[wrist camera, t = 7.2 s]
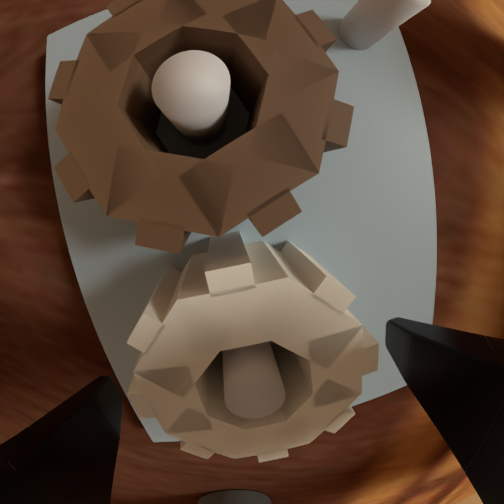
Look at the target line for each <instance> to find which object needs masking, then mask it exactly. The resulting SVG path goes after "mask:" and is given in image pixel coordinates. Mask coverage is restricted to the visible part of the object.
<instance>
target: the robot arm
mask: <svg viewBox="0 0 504 504" xmlns="http://www.w3.org/2000/svg"><path fill="white" fill-rule="evenodd" d="M385 345H386V348H387V350H388V352H389V354H390V355H391V357H392V359H393V361H394V363H395V364H396V366H397V368H398V370H399V372H400V374H401V376H402V377H403V379H404V381H405V382H406V384H407V385H408V387H409V388H410V390H411V391H412V393H413V394H414V395H415V397H416V398H417V400H418V401H419V403H420V404H421V406H422V407H423V408H424V410H425V411H426V413H427V414H428V416H429V417H430V419H431V420H432V422H433V423H434V425H435V426H436V428H437V429H438V431H439V432H440V434H441V435H442V437H443V438H444V440H445V441H446V443H447V445H448V446H449V448H450V449H451V451H452V452H453V454H454V456H455V457H456V459H457V460H458V462H459V463H460V465H461V467H462V468H463V470H464V471H465V474H466V475H467V477H468V478H469V480H470V482H471V483H472V485H473V487H474V488H475V490H476V492H477V493H478V495H479V497H480V499H481V500H482V502H483V504H504V339H499V338H494V337H489V336H486V337H485V336H484V335H479V334H474V333H469V332H464V331H459V330H455V329H450V328H445V327H441V326H436V325H431V324H427V323H422V322H418V321H414V320H409V319H405V318H400V317H396V318H393V319H390V320H388V321H387V322H386V333H385ZM122 405H123V398H122V394H121V392H120V390H119V388H118V386H117V384H116V383H115V381H114V379H113V377H112V376H99V377H98V378H97V379H95V380H94V381H92V382H91V383H90V384H88V385H87V386H85V387H84V388H83V389H81V390H80V391H78V392H77V393H76V394H74V395H73V396H71V397H70V398H68V399H67V400H66V401H64V402H63V403H61V404H60V405H59V406H57V407H56V408H54V409H53V410H51V411H50V412H49V413H47V414H46V415H44V416H43V417H42V418H40V419H39V420H37V421H36V422H34V423H33V424H32V425H30V427H27V428H26V429H24V430H23V431H21V432H20V433H18V434H17V435H15V436H14V437H12V438H11V439H9V440H7V441H6V442H4V443H3V444H1V445H0V504H110V499H111V491H112V483H113V476H114V470H115V463H116V457H117V451H118V446H119V439H120V429H121V416H122Z"/></svg>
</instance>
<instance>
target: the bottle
mask: <svg viewBox="0 0 504 504" xmlns="http://www.w3.org/2000/svg"><path fill="white" fill-rule="evenodd" d="M197 504H272V503H271V500H270V498H269V497H268V496H267V495H265V494H263V493H260V492H256V491H250V490H224V491H218V492H213V493H210V494H207V495H205V496H203V497H201V498H200V499H199V501H198V503H197Z"/></svg>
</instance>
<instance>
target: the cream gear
mask: <svg viewBox="0 0 504 504" xmlns="http://www.w3.org/2000/svg"><path fill="white" fill-rule="evenodd" d="M355 297H356V296H355V295H354V294H353V293H352V292H351V291H349V290H348V289H347V288H346V287H345V286H344V285H343V284H342V283H340V282H339V281H338V280H337V279H336V278H335V277H334V276H333V275H331V274H330V273H329V272H328V271H327V270H326V269H325V268H323V267H322V266H321V265H320V264H319V263H318V262H317V261H315V260H314V259H313V258H312V257H311V256H310V255H308V254H307V253H305V252H304V251H303V250H301V249H300V248H298V247H297V246H295V245H294V244H292V243H291V242H290V241H287V242H286V244H285V245H284V247H283V248H282V249H281V251H280V252H279V251H278V250H276V249H275V248H273V247H272V246H270V245H269V244H267V243H266V242H264V241H258V242H253V243H248V244H244V243H243V240H242V237H241V235H240V232H239V231H235V232H231V233H226V234H223V235H222V236H220V237H215V236H211V237H210V242H209V248H208V252H204V253H199V254H194V255H192V257H191V258H190V260H189V261H188V263H187V265H186V266H185V268H184V269H183V271H182V272H181V271H180V270H178V269H177V268H175V267H174V266H172V265H169V267H168V269H167V270H166V272H165V274H164V275H163V277H162V279H161V280H160V282H159V284H158V285H157V287H156V289H155V291H154V292H153V294H152V296H151V298H150V300H149V301H148V303H147V305H146V307H145V309H144V311H143V313H142V314H141V316H140V318H139V320H138V322H137V324H136V326H135V328H134V329H133V331H132V333H131V335H130V337H129V339H128V341H127V344H129V345H131V346H132V347H134V348H136V349H138V350H139V351H141V353H140V355H139V358H138V360H137V363H136V365H135V368H134V370H133V373H134V377H133V380H132V383H131V385H130V388H129V391H128V393H127V395H128V397H129V398H130V400H131V402H132V404H133V406H134V408H135V409H136V411H137V413H138V415H139V416H140V418H141V419H143V418H157V420H158V422H159V424H160V425H161V427H162V429H163V431H164V432H165V434H167V435H170V436H172V437H175V438H177V439H180V440H181V444H180V450H183V451H185V452H188V453H191V454H194V455H196V456H199V457H202V458H205V459H208V458H209V457H211V456H212V455H213V454H214V453H218V454H221V455H224V456H227V457H231V458H234V459H236V458H243V457H249V456H255V455H257V457H258V460H259V462H265V461H270V460H275V459H280V458H284V457H289V456H288V451H287V449H289V448H294V447H298V446H302V445H306V444H309V443H310V442H312V441H313V440H314V439H315V438H316V437H317V436H318V435H320V434H321V433H322V432H323V431H324V430H325V431H328V432H332V433H336V432H337V431H338V430H339V429H340V428H341V427H342V426H343V425H344V424H345V423H346V422H347V421H348V420H349V419H351V418H352V417H353V416H354V415H355V412H354V410H353V409H352V407H351V404H352V403H353V402H354V401H355V400H356V399H357V398H358V397H359V396H360V395H361V394H362V376H364V375H367V374H369V373H372V372H375V371H378V355H379V343H378V342H377V340H376V339H375V338H374V337H373V336H372V335H371V334H370V333H369V332H368V331H367V330H366V329H365V328H364V326H363V325H362V324H361V323H360V321H359V320H358V319H357V318H356V317H355V316H354V315H353V314H352V313H351V312H350V311H349V310H348V309H347V308H348V307H349V305H350V304H351V303H352V301H353V300H354V299H355ZM268 341H272V342H274V343H273V344H272V345H271V347H272V350H273V354H274V357H275V360H276V363H277V366H278V369H279V373H280V376H281V379H282V382H283V385H284V388H285V392H286V398H285V401H284V403H283V405H282V406H281V407H280V408H279V409H278V410H277V411H276V412H274V413H273V414H271V415H269V416H266V417H263V418H257V419H247V418H242V417H239V416H236V415H234V414H233V413H231V412H230V411H229V410H228V408H227V407H226V405H225V401H224V379H223V352H222V351H223V350H229V349H234V348H239V347H244V346H249V345H254V344H259V343H264V342H268Z"/></svg>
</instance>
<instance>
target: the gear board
mask: <svg viewBox="0 0 504 504" xmlns="http://www.w3.org/2000/svg"><path fill="white" fill-rule="evenodd" d="M283 1H284V2H285V3H286V4H287V5H288V7H289V8H290V9H291V10H292V11H293V12H294V13H295V15H297V14H300V13H303V12H306V11H309V10H313V11H314V12H315V13H316V14H317V15H318V17H319V18H320V19H321V20H322V21H323V23H324V24H325V25H326V26H327V28H328V29H329V30H330V31H331V33H332V34H333V35H334V37H335V38H336V39H337V40H336V41H335V42H334V43H333V45H332V46H331V47H330V48H329V49H328V50H327V51H326V54H327V55H328V57H329V58H330V59H331V61H332V62H333V64H334V65H335V66H336V68H337V69H338V71H339V74H338V80H337V85H336V91H335V97H334V99H335V100H338V101H341V102H343V103H346V104H349V105H351V106H354V111H353V116H352V122H351V127H350V133H349V138H348V143H347V147H345V148H341V149H336V150H332V151H328V152H324V153H323V157H322V162H321V166H320V171H319V174H317V175H315V176H314V177H312V178H311V179H309V180H307V181H306V182H304V183H303V184H301V185H299V186H298V187H296V188H295V189H293V190H291V191H290V192H291V194H292V195H293V197H294V199H295V200H296V202H297V204H298V205H299V207H300V209H301V210H302V212H301V213H299V214H298V215H296V216H295V217H293V218H291V219H290V220H288V221H287V222H285V223H284V224H282V225H281V226H279V227H278V228H276V229H274V230H273V231H271V232H270V233H268V234H267V235H265V236H264V237H262V236H261V235H260V233H259V232H258V231H257V229H256V228H255V227H254V225H253V224H252V223H251V221H250V220H249V219H246V220H245V221H243V222H242V223H240V224H239V225H237V226H235V227H234V228H232V229H231V230H229V231H228V232H226V233H231V232H235V231H239V232H240V235H241V237H242V240H243V243H244V244H248V243H253V242H258V241H264V242H266V243H267V244H269V245H270V246H272V247H273V248H275V249H276V250H278V251H279V252H280V251H281V249H282V248H283V247H284V245H285V244H286V242H287V241H290V242H291V243H292V244H294V245H295V246H297V247H298V248H300V249H301V250H303V251H304V252H305V253H307V254H308V255H310V256H311V257H312V258H313V259H314V260H315V261H317V262H318V263H319V264H320V265H321V266H322V267H323V268H325V269H326V270H327V271H328V272H329V273H330V274H331V275H333V276H334V277H335V278H336V279H337V280H338V281H339V282H340V283H342V284H343V285H344V286H345V287H346V288H347V289H348V290H349V291H351V292H352V293H353V294H354V295H355V296H356V297H355V299H354V300H353V301H352V303H351V304H350V305H349V307H348V308H347V309H348V310H349V311H350V312H351V313H352V314H353V315H354V316H355V317H356V318H357V319H358V320H359V321H360V323H361V324H362V325H363V326H364V328H365V329H366V330H367V331H368V332H369V333H370V334H371V335H372V336H373V337H374V338H375V339H376V340H377V342H378V343H379V355H378V371H375V372H372V373H369V374H367V375H364V376H362V394H361V395H360V396H359V397H358V398H357V399H356V400H355V401H354V402H353V403H352V404H351V407H352V406H354V405H357V404H360V403H363V402H366V401H369V400H371V399H374V398H377V397H379V396H382V395H385V394H387V393H390V392H392V391H394V390H397V389H399V388H402V387H404V386H406V385H407V384H406V382H405V381H404V379H403V377H402V376H401V374H400V372H399V370H398V368H397V366H396V364H395V363H394V361H393V359H392V357H391V355H390V354H389V352H388V350H387V348H386V345H385V333H386V322H387V321H388V320H390V319H393V318H396V317H400V318H405V319H409V320H414V321H418V322H422V323H427V324H431V325H432V322H433V312H434V301H435V287H436V265H437V227H436V204H435V191H434V180H433V170H432V162H431V154H430V147H429V141H428V135H427V129H426V124H425V119H424V114H423V109H422V104H421V100H420V96H419V91H418V87H417V83H416V80H415V76H414V72H413V69H412V65H411V62H410V59H409V56H408V52H407V49H406V46H405V43H404V40H403V37H402V35H401V32H400V29H399V26H400V25H401V24H403V23H404V22H405V21H407V20H408V19H410V18H411V17H413V16H414V15H415V14H417V13H418V12H420V11H421V10H423V9H424V8H426V7H427V6H429V5H430V3H431V0H283ZM110 17H112V15H111V13H110V12H109V10H108V9H107V10H104V11H101V12H99V13H96V14H94V15H91V16H89V17H86V18H84V19H82V20H79V21H77V22H75V23H73V24H71V25H68V26H66V27H64V28H62V29H60V30H58V31H56V32H54V33H52V34H50V35H48V37H47V50H46V78H45V90H46V118H47V132H48V143H49V152H50V160H51V168H52V174H53V181H54V187H55V192H56V198H57V203H58V208H59V213H60V217H61V222H62V226H63V230H64V234H65V238H66V242H67V246H68V250H69V253H70V257H71V260H72V264H73V267H74V271H75V274H76V277H77V280H78V283H79V286H80V289H81V292H82V295H83V298H84V301H85V304H86V306H87V309H88V312H89V314H90V317H91V320H92V322H93V325H94V327H95V330H96V332H97V335H98V337H99V339H100V342H101V344H102V346H103V349H104V351H105V353H106V356H107V358H108V360H109V362H110V364H111V366H112V368H113V371H114V373H115V375H116V377H117V379H118V381H119V383H120V385H121V387H122V389H123V391H124V392H125V394H126V396H127V398H128V400H129V402H130V404H131V405H132V407H133V409H134V411H135V413H136V414H137V416H138V418H139V419H140V421H141V423H142V425H143V426H144V428H145V430H146V431H147V433H148V434H149V436H150V438H151V439H152V441H153V442H170V441H181V440H180V439H177V438H175V437H172V436H170V435H167V434H165V432H164V431H163V429H162V427H161V425H160V424H159V422H158V420H157V418H143V419H141V418H140V416H139V415H138V413H137V411H136V409H135V408H134V406H133V404H132V402H131V400H130V398H129V397H128V395H127V393H128V391H129V388H130V385H131V383H132V380H133V377H134V373H133V370H134V368H135V365H136V363H137V360H138V358H139V355H140V353H141V351H139V350H138V349H136V348H134V347H132V346H131V345H129V344H127V341H128V339H129V337H130V335H131V333H132V331H133V329H134V328H135V326H136V324H137V322H138V320H139V318H140V316H141V314H142V313H143V311H144V309H145V307H146V305H147V303H148V301H149V300H150V298H151V296H152V294H153V292H154V291H155V289H156V287H157V285H158V284H159V282H160V280H161V279H162V277H163V275H164V274H165V272H166V270H167V269H168V267H169V265H172V266H174V267H175V268H177V269H178V270H180V271H181V272H182V271H183V269H184V268H185V266H186V265H187V263H188V261H189V260H190V258H191V257H192V255H194V254H199V253H204V252H208V248H209V242H210V237H211V236H210V235H204V234H199V233H194V232H191V234H190V236H189V238H188V240H187V242H186V243H185V245H184V247H183V249H182V251H181V253H180V254H178V253H173V252H168V251H162V250H157V249H152V248H147V247H142V246H137V245H135V240H136V233H137V225H138V222H135V221H130V220H124V219H119V218H113V217H108V216H106V215H105V213H104V212H103V210H102V209H101V207H100V205H99V204H98V202H97V201H96V199H89V200H84V201H79V202H73V200H72V199H71V197H70V195H69V194H68V192H67V190H66V189H65V187H64V185H63V183H62V182H61V180H60V178H59V176H58V174H57V173H56V171H55V169H54V167H55V166H56V165H57V164H58V163H59V162H60V161H61V160H62V159H63V158H64V157H65V156H66V155H67V154H68V152H67V150H66V148H65V146H64V144H63V142H62V141H61V139H60V137H59V135H58V133H57V131H56V126H57V122H58V118H59V114H60V110H61V106H62V105H61V104H59V103H56V102H54V101H52V100H49V99H48V97H49V93H50V90H51V87H52V84H53V81H54V78H55V75H56V72H57V69H58V66H59V63H60V61H70V60H77V57H78V54H79V52H80V49H81V47H82V44H83V42H84V39H85V37H86V35H87V34H88V33H89V32H90V31H92V30H93V29H94V28H96V27H97V26H99V25H100V24H101V23H103V22H104V21H106V20H107V19H109V18H110ZM230 82H231V80H230V74H229V71H228V69H227V67H226V65H225V64H224V63H223V62H222V60H220V59H219V58H218V57H217V56H215V55H213V54H211V53H208V52H205V51H200V50H189V51H184V52H180V53H178V54H175V55H173V56H171V57H170V58H168V59H167V60H166V61H165V62H163V63H162V65H161V66H160V67H159V68H158V70H157V71H156V73H155V75H154V78H153V81H152V96H153V99H154V102H155V103H156V105H157V106H158V108H159V109H160V110H161V115H160V119H159V123H158V127H157V131H156V134H157V135H158V137H159V138H160V140H161V141H162V143H163V145H164V146H165V148H166V149H167V151H168V152H169V153H170V154H176V155H182V156H188V157H193V158H199V159H205V158H207V157H208V156H210V155H212V154H213V153H215V152H216V151H218V150H219V149H221V148H223V147H224V146H226V145H227V144H229V143H231V142H232V141H234V140H235V139H237V138H239V137H240V136H242V135H244V134H245V133H246V129H247V124H248V120H249V116H250V114H249V112H248V111H247V109H246V108H245V106H244V105H243V103H242V102H241V101H240V99H239V98H238V96H237V95H236V93H235V92H234V91H233V89H232V88H231V86H230ZM226 233H225V234H226ZM273 343H274V342H272V341H268V342H264V343H259V344H254V345H249V346H244V347H239V348H234V349H229V350H223V351H222V352H223V379H224V401H225V405H226V407H227V408H228V410H229V411H230V412H231V413H233V414H234V415H236V416H239V417H242V418H247V419H257V418H263V417H266V416H269V415H271V414H273V413H274V412H276V411H277V410H278V409H279V408H280V407H281V406H282V405H283V403H284V401H285V398H286V392H285V388H284V385H283V382H282V379H281V376H280V373H279V369H278V366H277V363H276V360H275V357H274V354H273V350H272V347H271V345H272V344H273Z"/></svg>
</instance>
